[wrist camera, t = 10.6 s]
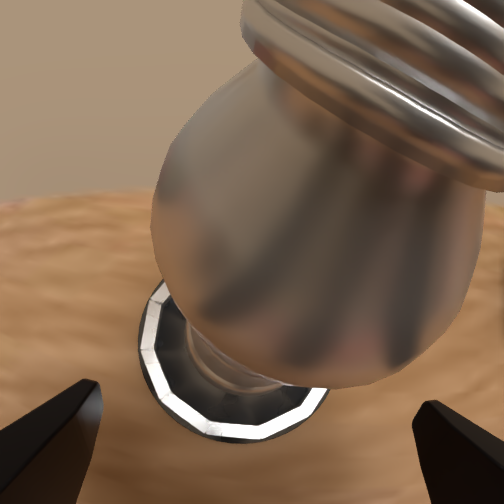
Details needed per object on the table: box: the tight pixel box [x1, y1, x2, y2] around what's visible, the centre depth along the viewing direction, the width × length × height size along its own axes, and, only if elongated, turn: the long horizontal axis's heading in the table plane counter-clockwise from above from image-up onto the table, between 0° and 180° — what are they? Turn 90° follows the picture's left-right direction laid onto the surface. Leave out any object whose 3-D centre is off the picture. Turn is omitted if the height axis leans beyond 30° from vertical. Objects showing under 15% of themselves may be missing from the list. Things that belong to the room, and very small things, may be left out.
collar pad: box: [138, 279, 330, 444], centre depth 19 cm, size 13×13×1 cm
